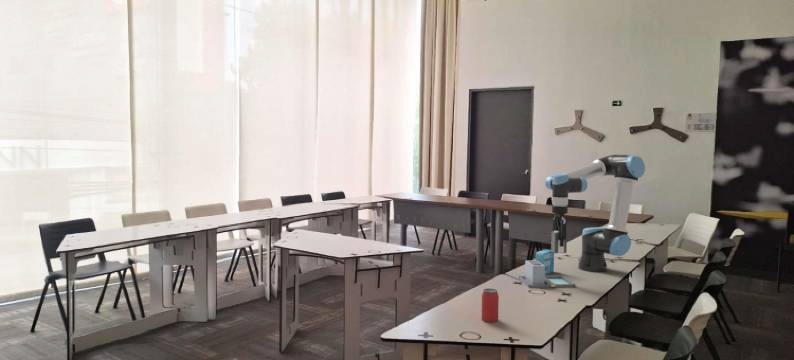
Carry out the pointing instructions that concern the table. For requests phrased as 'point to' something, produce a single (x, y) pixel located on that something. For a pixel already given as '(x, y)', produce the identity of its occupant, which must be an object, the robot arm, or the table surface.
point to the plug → (555, 242)
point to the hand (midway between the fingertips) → (558, 251)
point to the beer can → (490, 305)
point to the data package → (546, 260)
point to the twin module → (534, 272)
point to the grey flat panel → (550, 282)
